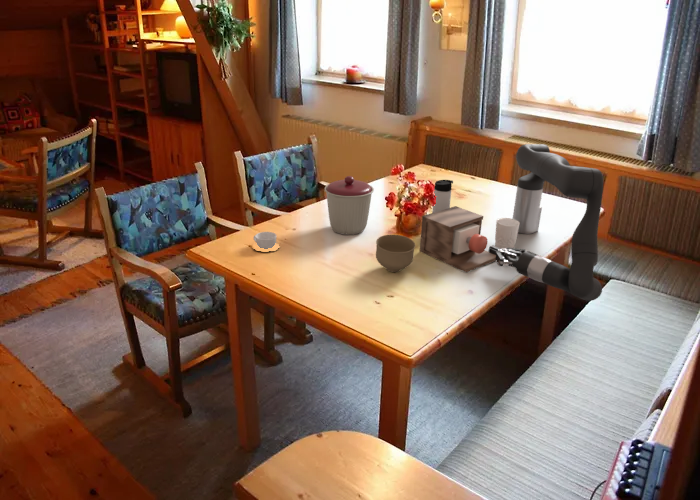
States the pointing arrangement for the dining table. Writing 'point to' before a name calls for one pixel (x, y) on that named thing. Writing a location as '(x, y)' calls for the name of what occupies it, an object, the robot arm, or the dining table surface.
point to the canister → (348, 205)
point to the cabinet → (451, 238)
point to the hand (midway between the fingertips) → (490, 248)
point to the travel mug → (442, 195)
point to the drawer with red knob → (468, 239)
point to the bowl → (395, 252)
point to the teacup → (265, 239)
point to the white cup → (506, 232)
